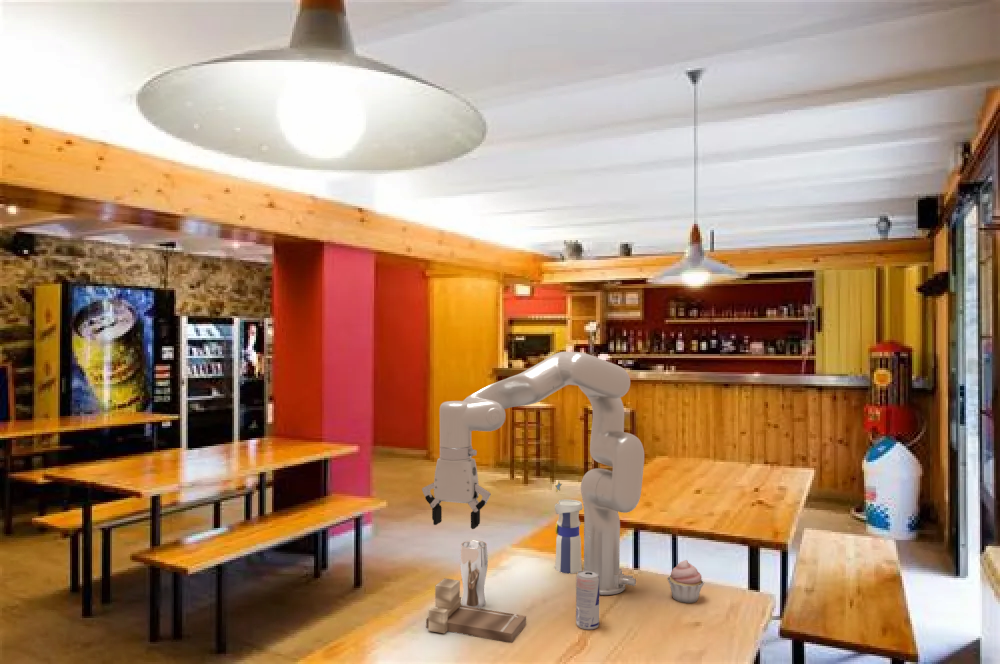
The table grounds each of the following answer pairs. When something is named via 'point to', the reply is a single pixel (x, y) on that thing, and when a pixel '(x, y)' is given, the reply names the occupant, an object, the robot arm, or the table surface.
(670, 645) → the table surface
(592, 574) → the energy drink
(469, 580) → the beer glass
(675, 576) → the cupcake
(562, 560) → the water bottle
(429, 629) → the stacked wooden blocks
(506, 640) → the board
